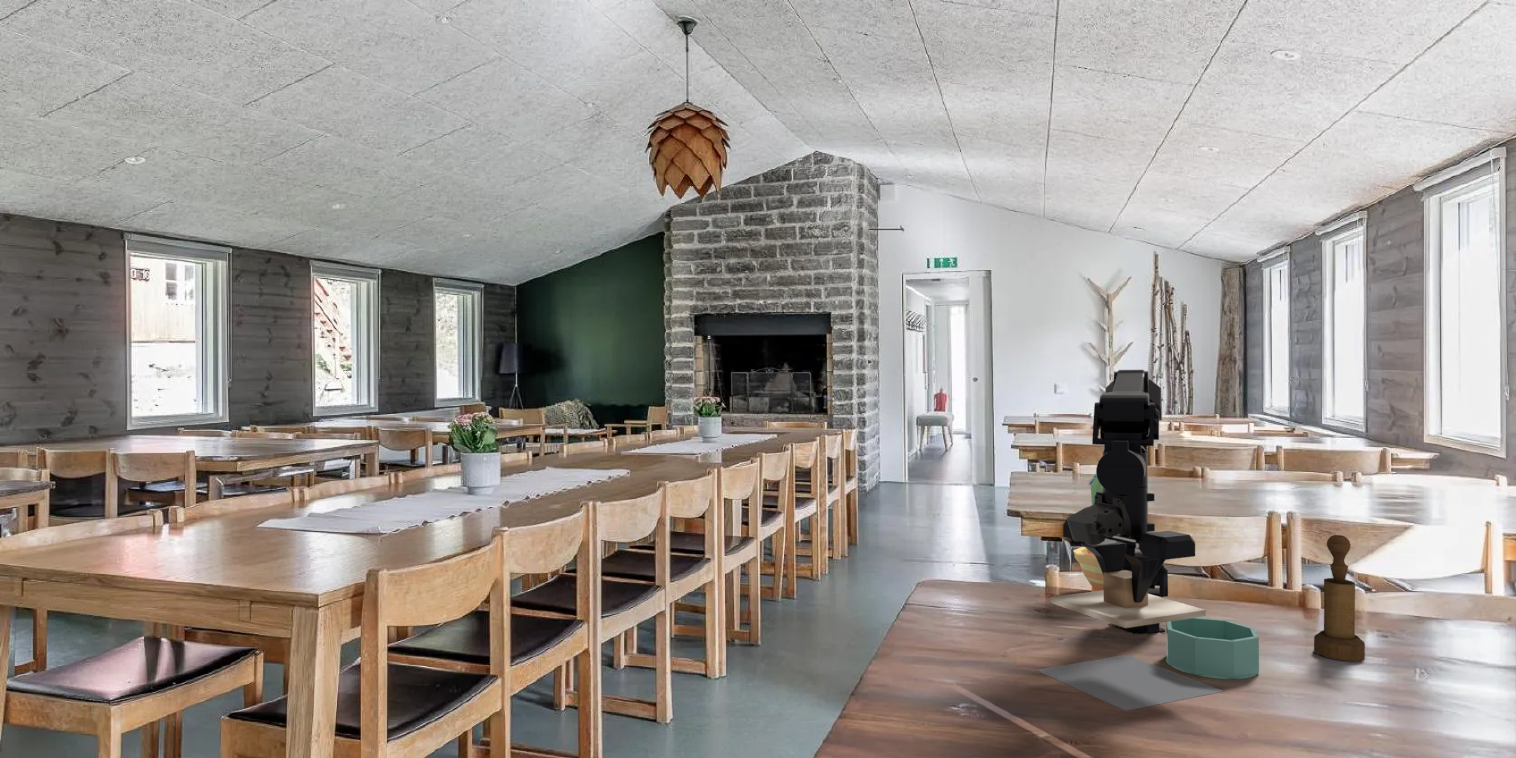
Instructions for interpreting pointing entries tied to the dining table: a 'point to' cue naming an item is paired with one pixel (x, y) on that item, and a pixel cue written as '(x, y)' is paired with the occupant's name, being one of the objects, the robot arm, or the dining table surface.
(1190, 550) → the robot arm
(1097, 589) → the potted cactus
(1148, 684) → the mat
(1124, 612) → the lid
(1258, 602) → the dining table surface
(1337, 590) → the brown wooden upright piece
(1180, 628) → the bowl
